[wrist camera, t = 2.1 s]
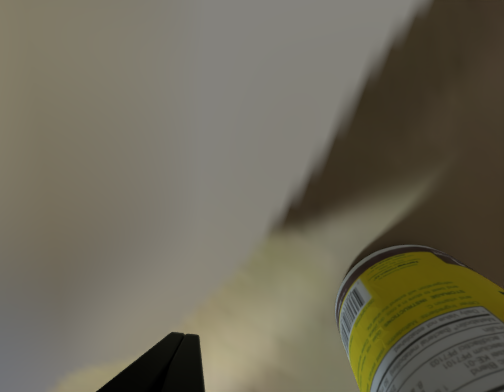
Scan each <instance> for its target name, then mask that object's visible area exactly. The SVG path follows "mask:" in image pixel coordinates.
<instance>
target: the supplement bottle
mask: <svg viewBox="0 0 504 392" xmlns="http://www.w3.org/2000/svg"><path fill="white" fill-rule="evenodd" d="M335 315H336V322H337V326H338V330H339V333H340V336H341V339H342V342H343V345H344V347H345V350H346V353H347V356H348V358H349V361H350V364H351V367H352V370H353V372H354V375H355V378H356V381H357V383H358V386H359V389H360V392H504V289H502V288H501V287H499V286H498V285H496V284H495V283H493V282H491V281H490V280H488V279H487V278H485V277H483V276H482V275H480V274H479V273H477V272H476V271H474V270H473V269H471V268H470V267H468V266H466V265H465V264H463V263H462V262H460V261H458V260H457V259H455V258H453V257H452V256H450V255H448V254H446V253H444V252H442V251H439V250H436V249H434V248H430V247H426V246H421V245H398V246H392V247H388V248H385V249H382V250H379V251H376V252H374V253H372V254H371V255H369V256H367V257H365V258H364V259H363V260H361V261H360V262H359V263H358V264H356V265H355V266H354V267H353V268H352V269H351V270H350V272H349V273H348V274H347V276H346V277H345V279H344V280H343V282H342V284H341V286H340V288H339V291H338V294H337V298H336V305H335Z"/></svg>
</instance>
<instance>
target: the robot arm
mask: <svg viewBox="0 0 504 392" xmlns="http://www.w3.org/2000/svg"><path fill="white" fill-rule="evenodd" d="M96 392H205V386H204V377H203V367H202V358H201V348H200V339H199V335H195V334H186V335H185V334H184V333H178V332H171V333H170V334H168V335H167V336H166V337H165V338H163V339H162V340H161V341H160V342H158V343H157V344H156V345H154V346H153V347H152V348H151V349H149V350H148V351H147V352H146V353H144V354H143V355H142V356H141V357H139V358H138V359H137V360H136V361H134V362H133V363H132V364H130V365H129V366H128V367H127V368H125V369H124V370H123V371H122V372H120V373H119V374H118V375H117V376H115V377H114V378H113V379H112V380H110V381H109V382H108V383H106V384H105V385H104V386H103V387H101V388H100V389H99V390H98V391H96Z"/></svg>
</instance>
